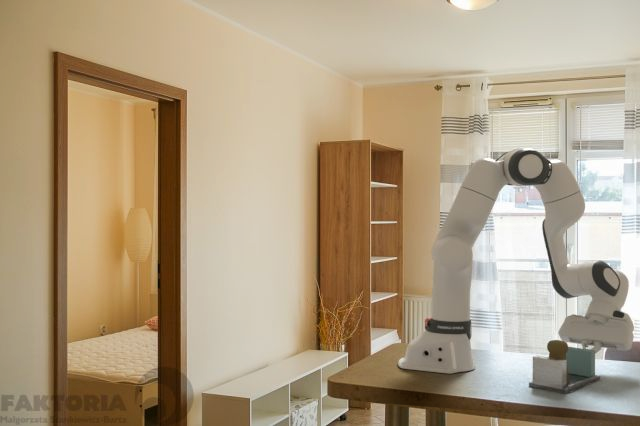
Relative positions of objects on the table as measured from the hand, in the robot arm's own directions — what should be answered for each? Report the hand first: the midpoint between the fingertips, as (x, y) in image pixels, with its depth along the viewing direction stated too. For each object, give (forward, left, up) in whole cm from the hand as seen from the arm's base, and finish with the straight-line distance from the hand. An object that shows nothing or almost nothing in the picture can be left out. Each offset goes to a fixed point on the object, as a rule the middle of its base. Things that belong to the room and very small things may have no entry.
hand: (587, 355), depth 187 cm
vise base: (-7, -12, -5) cm, 15 cm away
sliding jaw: (-3, -5, -4) cm, 7 cm away
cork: (-9, -16, -5) cm, 19 cm away
